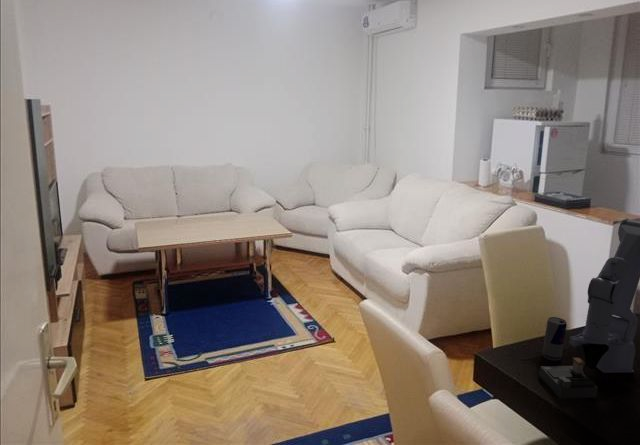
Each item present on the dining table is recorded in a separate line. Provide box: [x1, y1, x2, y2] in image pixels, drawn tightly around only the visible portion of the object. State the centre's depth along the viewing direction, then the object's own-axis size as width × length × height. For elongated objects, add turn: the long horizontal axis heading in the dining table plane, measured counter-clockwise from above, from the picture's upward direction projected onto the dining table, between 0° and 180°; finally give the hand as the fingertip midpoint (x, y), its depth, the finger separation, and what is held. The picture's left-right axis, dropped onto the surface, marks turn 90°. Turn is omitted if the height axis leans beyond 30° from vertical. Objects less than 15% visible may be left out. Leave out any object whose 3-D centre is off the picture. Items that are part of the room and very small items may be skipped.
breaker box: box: [538, 365, 599, 399], centre depth 137 cm, size 10×11×5 cm
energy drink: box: [541, 316, 568, 362], centre depth 152 cm, size 5×5×12 cm
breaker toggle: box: [570, 357, 586, 375], centre depth 138 cm, size 2×3×4 cm
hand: (590, 366), depth 138 cm, fingers closed
